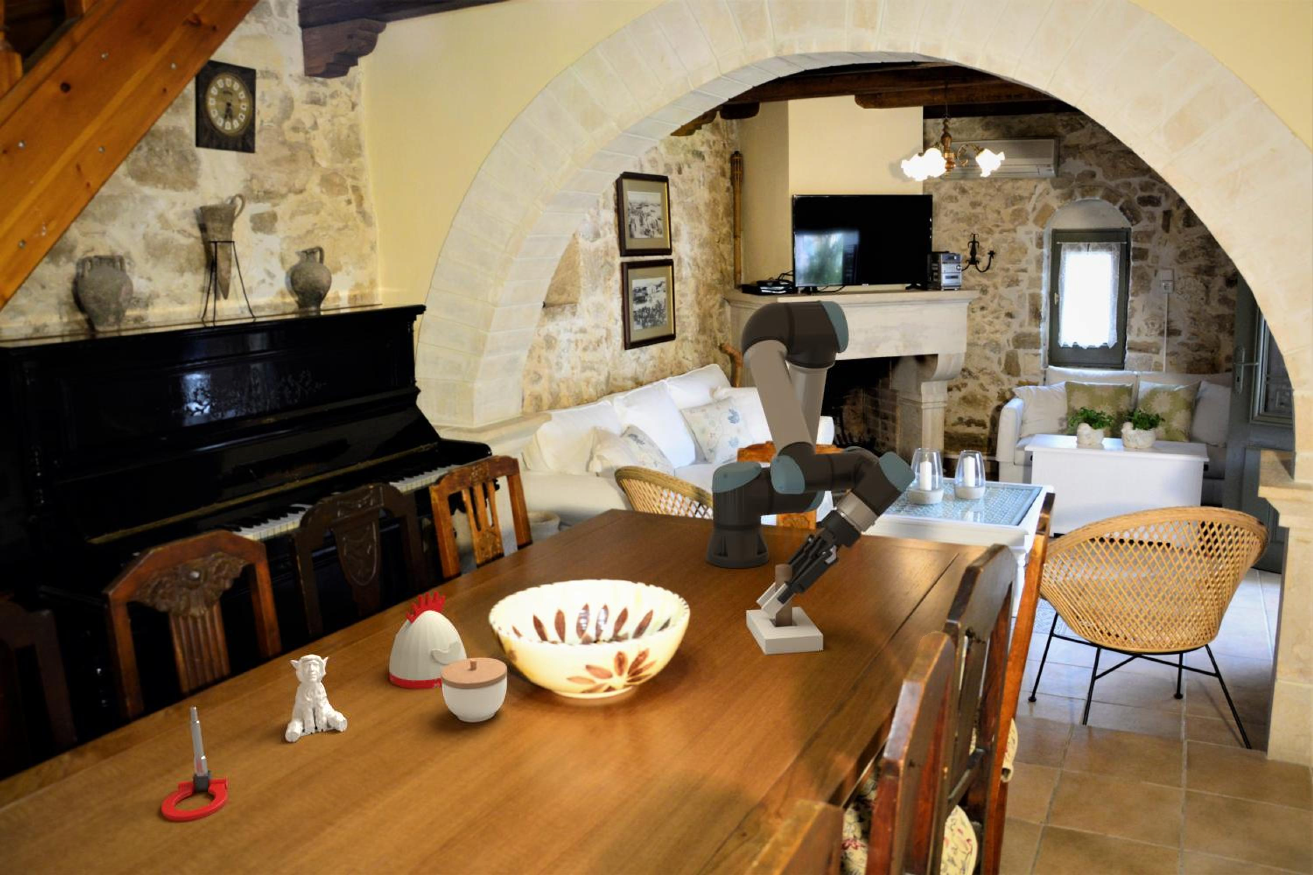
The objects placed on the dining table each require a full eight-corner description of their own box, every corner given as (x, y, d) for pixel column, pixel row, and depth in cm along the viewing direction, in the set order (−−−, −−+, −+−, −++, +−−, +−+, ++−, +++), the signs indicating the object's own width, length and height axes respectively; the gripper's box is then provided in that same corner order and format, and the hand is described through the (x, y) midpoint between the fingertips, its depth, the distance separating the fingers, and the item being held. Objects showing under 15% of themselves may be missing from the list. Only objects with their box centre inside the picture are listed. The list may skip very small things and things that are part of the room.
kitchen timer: (483, 671, 192) (479, 592, 190) (419, 695, 182) (413, 612, 180) (437, 652, 202) (433, 577, 199) (374, 675, 192) (368, 595, 189)
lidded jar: (520, 704, 178) (517, 651, 176) (490, 732, 168) (487, 676, 166) (463, 697, 181) (460, 645, 180) (430, 723, 171) (427, 668, 170)
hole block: (746, 624, 213) (746, 610, 212) (800, 620, 214) (800, 606, 214) (765, 654, 197) (765, 639, 197) (822, 650, 198) (822, 635, 198)
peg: (773, 624, 206) (773, 564, 204) (789, 622, 207) (789, 563, 205) (777, 629, 203) (777, 569, 201) (794, 628, 204) (794, 568, 202)
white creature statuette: (286, 744, 165) (280, 671, 163) (278, 723, 173) (271, 653, 171) (348, 730, 170) (342, 659, 168) (337, 710, 177) (332, 642, 175)
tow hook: (219, 821, 144) (235, 784, 153) (207, 734, 141) (225, 702, 150) (154, 827, 143) (174, 789, 152) (141, 740, 140) (163, 707, 149)
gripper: (875, 544, 196) (788, 636, 197) (848, 523, 212) (767, 608, 213) (848, 518, 194) (760, 611, 195) (822, 498, 210) (741, 584, 211)
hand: (764, 609), depth 204 cm, fingers closed on peg, 3 cm apart
